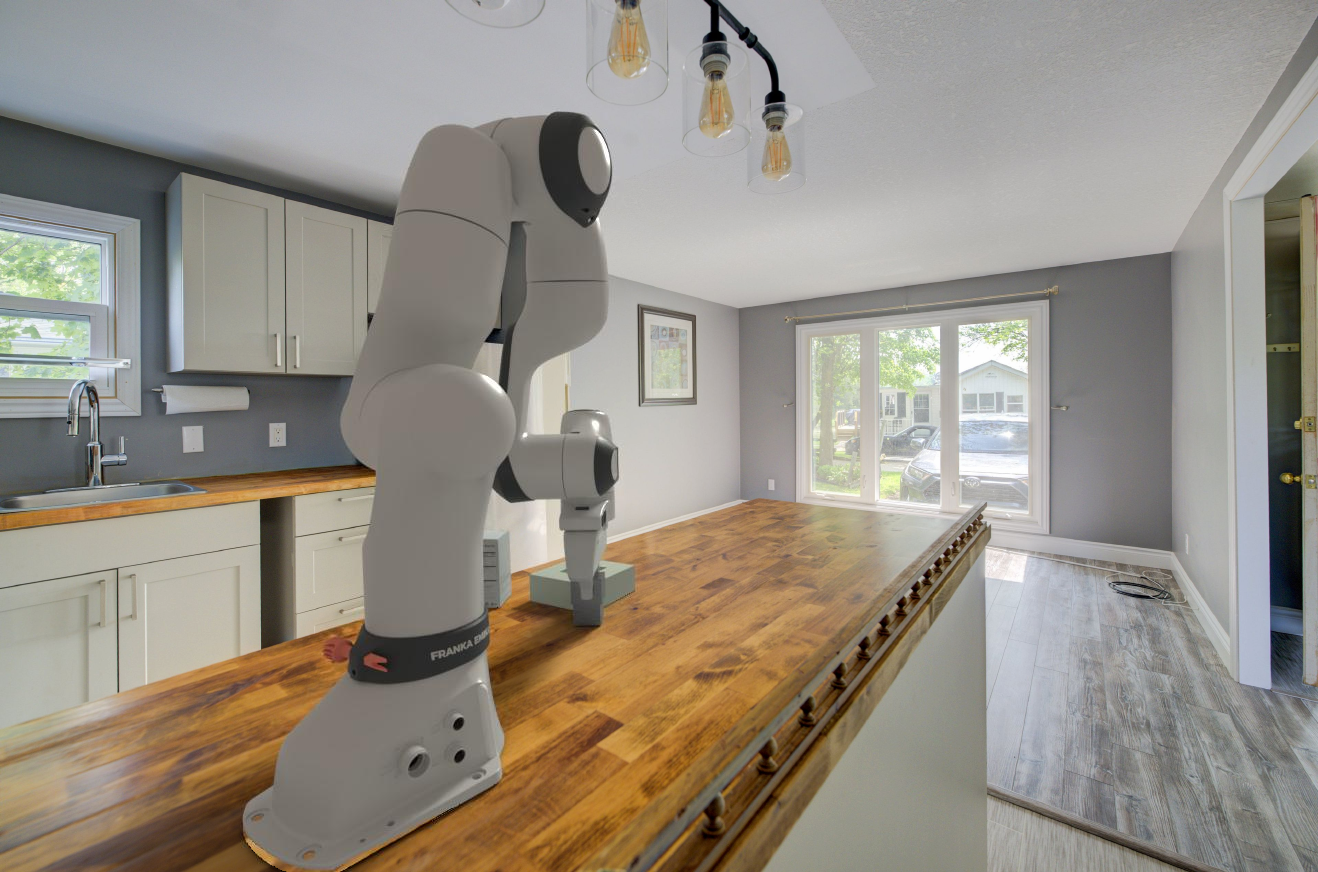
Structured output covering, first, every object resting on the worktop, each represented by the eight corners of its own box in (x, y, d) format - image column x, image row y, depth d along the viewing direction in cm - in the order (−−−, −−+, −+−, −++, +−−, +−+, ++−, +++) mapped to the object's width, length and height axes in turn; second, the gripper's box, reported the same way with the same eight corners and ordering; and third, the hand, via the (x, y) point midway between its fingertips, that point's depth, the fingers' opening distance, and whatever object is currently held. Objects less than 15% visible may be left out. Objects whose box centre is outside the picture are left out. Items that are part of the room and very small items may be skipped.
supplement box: (474, 595, 106) (472, 529, 105) (512, 594, 106) (510, 529, 105) (458, 608, 98) (456, 538, 98) (500, 608, 98) (498, 538, 98)
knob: (602, 626, 89) (601, 576, 89) (571, 626, 89) (570, 577, 89) (605, 615, 94) (604, 569, 94) (576, 616, 94) (575, 569, 94)
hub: (590, 614, 95) (589, 585, 94) (530, 600, 102) (529, 574, 102) (635, 590, 107) (634, 565, 106) (578, 580, 114) (577, 556, 114)
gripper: (579, 497, 101) (581, 572, 102) (556, 522, 81) (559, 614, 81) (613, 497, 101) (615, 571, 102) (599, 521, 81) (601, 614, 81)
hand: (590, 591), depth 91 cm, fingers open, 5 cm apart
